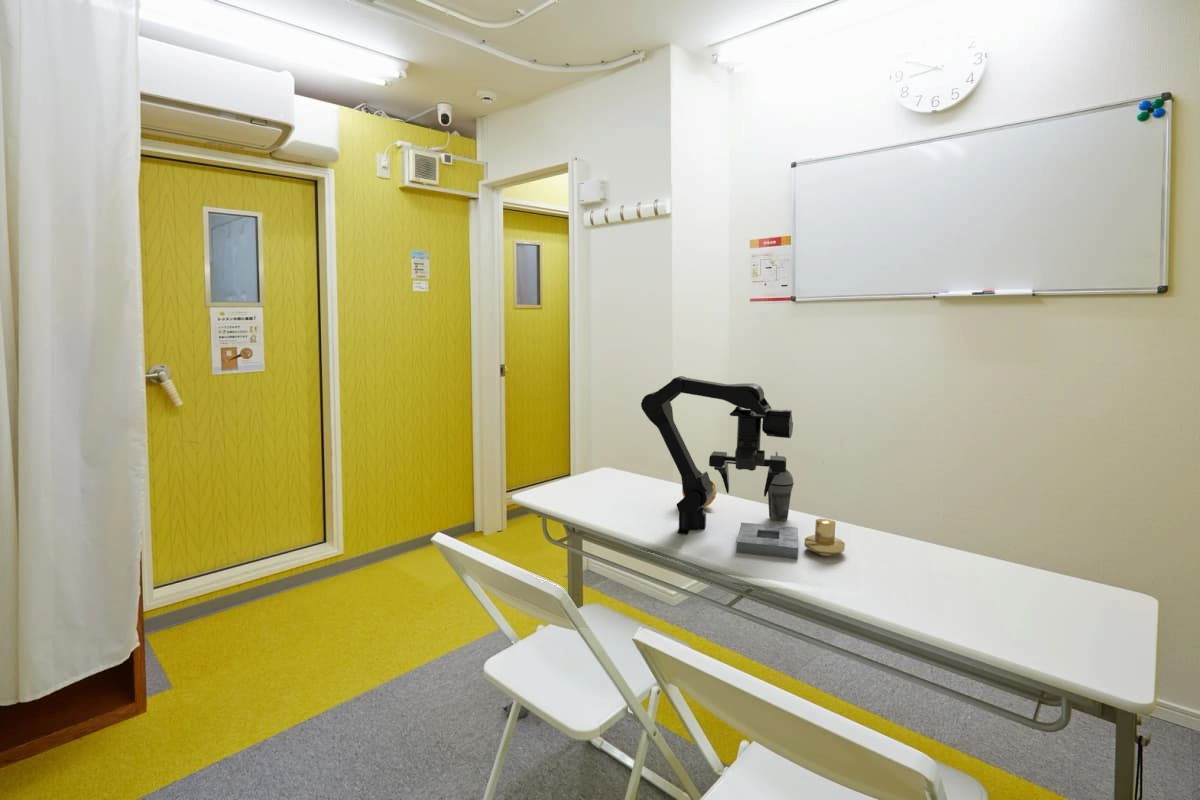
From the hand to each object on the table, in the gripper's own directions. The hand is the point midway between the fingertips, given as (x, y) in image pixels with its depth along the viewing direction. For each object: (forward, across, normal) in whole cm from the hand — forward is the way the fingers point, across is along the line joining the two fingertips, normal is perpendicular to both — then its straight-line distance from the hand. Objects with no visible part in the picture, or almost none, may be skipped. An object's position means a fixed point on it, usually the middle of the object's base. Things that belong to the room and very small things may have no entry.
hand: (746, 494), depth 163 cm
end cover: (+12, +19, -7) cm, 23 cm away
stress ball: (+12, -15, +22) cm, 29 cm away
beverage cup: (+12, +8, +15) cm, 21 cm away
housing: (+12, +6, -6) cm, 14 cm away
